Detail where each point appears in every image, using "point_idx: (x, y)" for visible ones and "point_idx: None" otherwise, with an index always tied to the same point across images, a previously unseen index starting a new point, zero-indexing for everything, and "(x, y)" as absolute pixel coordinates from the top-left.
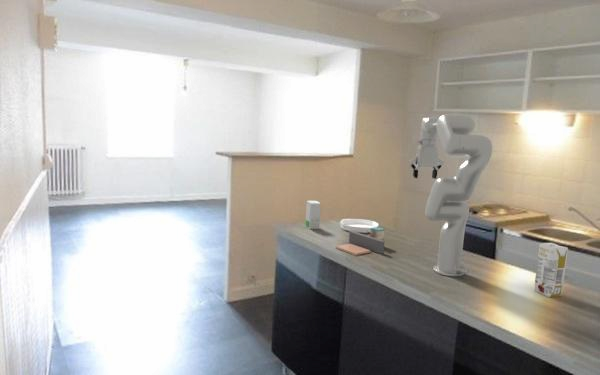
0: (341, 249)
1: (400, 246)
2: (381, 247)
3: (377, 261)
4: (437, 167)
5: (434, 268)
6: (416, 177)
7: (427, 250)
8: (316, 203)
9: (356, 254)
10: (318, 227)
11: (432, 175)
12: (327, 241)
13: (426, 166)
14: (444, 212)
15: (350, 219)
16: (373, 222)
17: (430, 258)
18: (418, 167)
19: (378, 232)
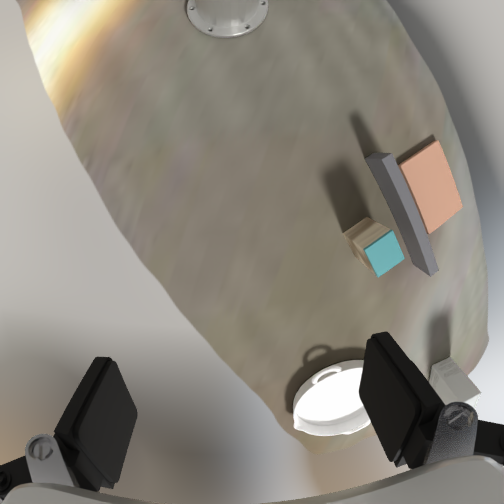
0: (454, 187)
1: (288, 235)
2: (381, 153)
3: (395, 89)
4: (32, 473)
5: (266, 7)
6: (386, 333)
7: (210, 197)
8: (470, 398)
9: (434, 141)
10: (435, 366)
11: (129, 426)
12: (458, 264)
13: (293, 501)
14: None
15: (349, 429)
16: (297, 424)
17: (232, 110)
18: (434, 452)
19: (386, 229)
